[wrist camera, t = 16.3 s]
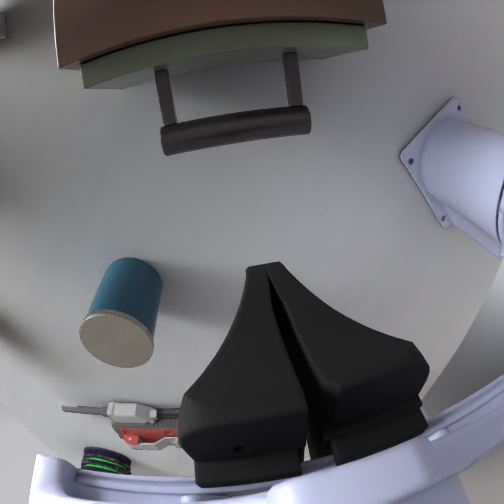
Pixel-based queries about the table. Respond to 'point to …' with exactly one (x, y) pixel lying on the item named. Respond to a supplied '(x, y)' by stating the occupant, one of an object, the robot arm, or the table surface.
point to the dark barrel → (105, 461)
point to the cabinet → (183, 20)
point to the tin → (123, 314)
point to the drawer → (223, 54)
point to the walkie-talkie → (138, 423)
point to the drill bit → (2, 27)
